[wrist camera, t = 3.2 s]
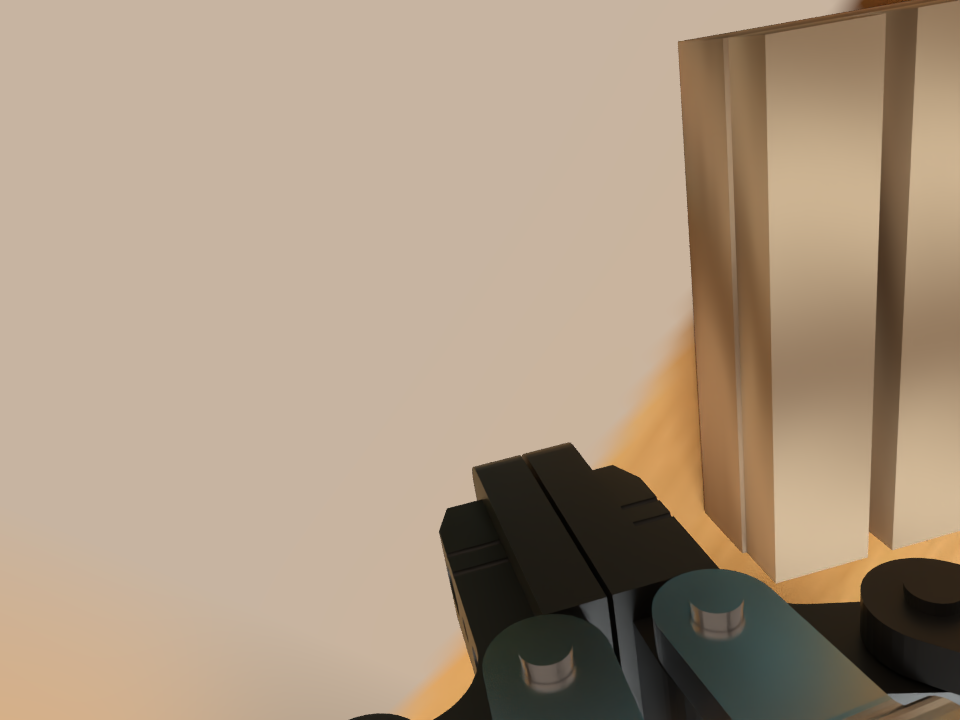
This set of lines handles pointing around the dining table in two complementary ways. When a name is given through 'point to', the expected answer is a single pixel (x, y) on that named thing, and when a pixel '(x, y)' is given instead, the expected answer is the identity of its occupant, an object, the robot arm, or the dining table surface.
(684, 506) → the dining table surface
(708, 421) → the pallet
